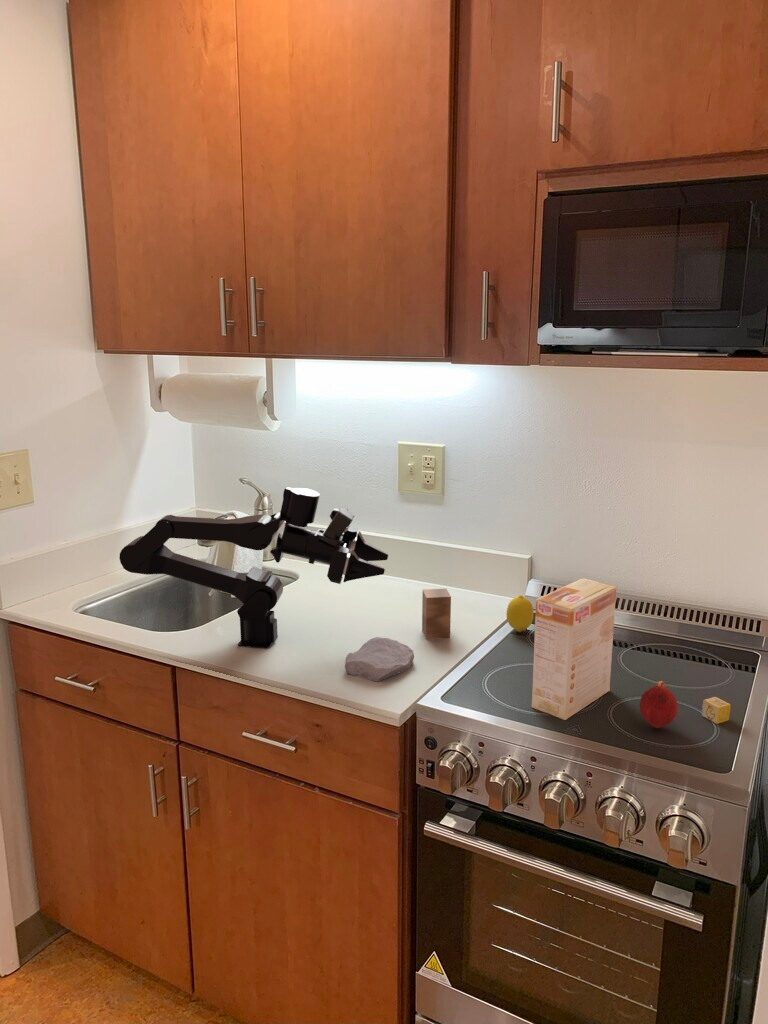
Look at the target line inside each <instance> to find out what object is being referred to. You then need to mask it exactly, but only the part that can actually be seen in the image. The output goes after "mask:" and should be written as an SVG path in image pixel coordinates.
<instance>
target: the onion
mask: <svg viewBox="0 0 768 1024" xmlns="http://www.w3.org/2000/svg"><path fill="white" fill-rule="evenodd" d="M665 685H666V683H665V682H664V680H659V681H657V684H656V685H655V686H652V687H650V688H649V689H647V690H646V691H645V692H644V693H642V695H641V697H640V702H639V711H640V715H641V716H642V718H643V720H645V722H647V724H649V725H650V726H652V727H653V728H655V729H661V728H662V727H666V726H668V725H669V724H671V723H672V722H673V721H674V720H675V719H676V718H677V716H678V711H679V707H678V701H677V698H676V696H675V695H674V693H672V691H671V690H670V689H669V688H667V687H666V686H665Z"/></svg>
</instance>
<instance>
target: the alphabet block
mask: <svg viewBox="0 0 768 1024" xmlns="http://www.w3.org/2000/svg"><path fill="white" fill-rule="evenodd" d="M730 714H731V703H729V702H727V701H724V700H723V699H720V698H719V697H717V696H712V697H709V698H706V699H703V702H702V710H701V716H702V717H704V718H705V719H707V720H709V721H711V722H712V723H713V724H716V725H718V724H721V723H722V724H723V723H724V722H727V721H729V720H730Z"/></svg>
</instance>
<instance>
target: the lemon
mask: <svg viewBox="0 0 768 1024" xmlns="http://www.w3.org/2000/svg"><path fill="white" fill-rule="evenodd" d="M534 617H535V614H534V607H533V604H532V602H531V601H530V600H529V599H528V598H527V597H524V595H521V594H520V595H519V596H516V597H514V598H512V599H511V600H510V601H509V602H508V604H507V608H506V621H507V622H508V625H509V626H510V627H511V628H512V629H514V630H516V631H517V632H518V633H521V632H522V631H524V630H527V629H528V628H529V627H531V625H532V623H533V621H534Z"/></svg>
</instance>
